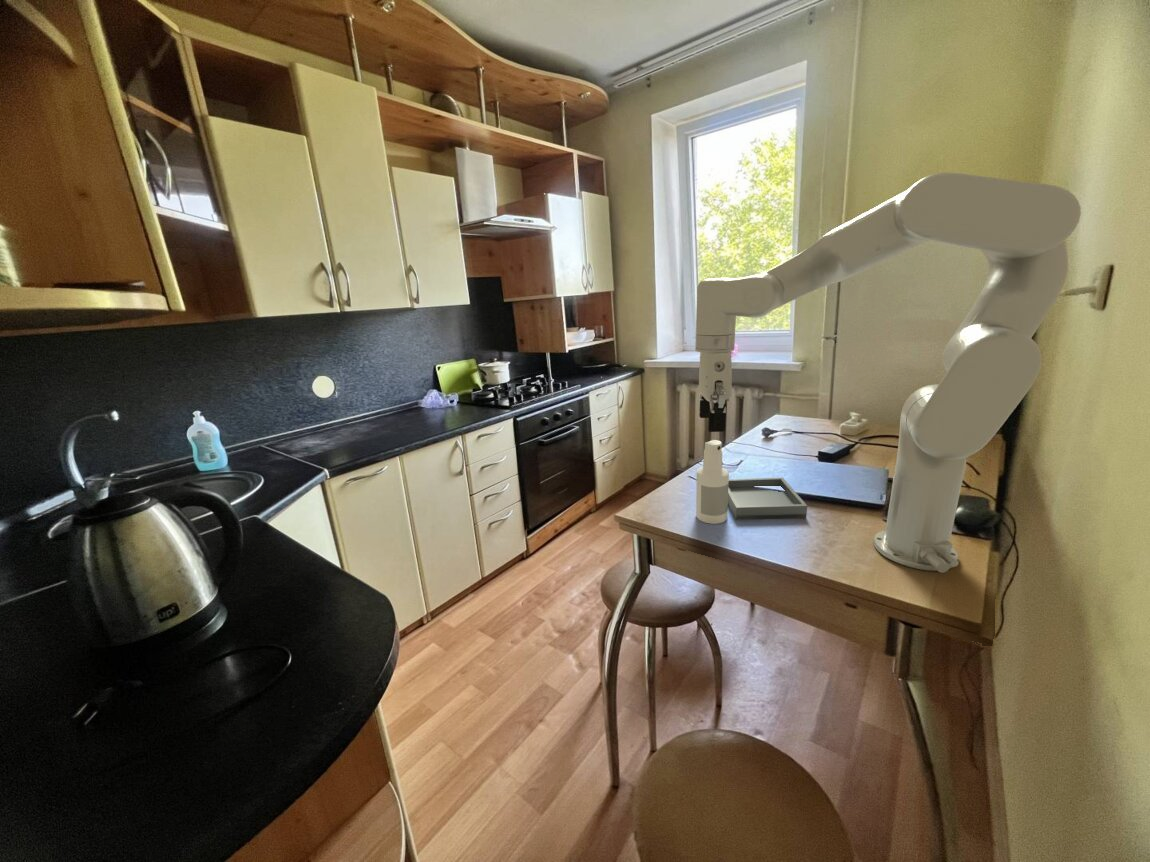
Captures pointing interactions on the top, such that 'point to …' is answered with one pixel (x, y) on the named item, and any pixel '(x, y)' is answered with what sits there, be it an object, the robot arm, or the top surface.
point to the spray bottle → (712, 486)
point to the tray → (764, 500)
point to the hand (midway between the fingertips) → (711, 424)
